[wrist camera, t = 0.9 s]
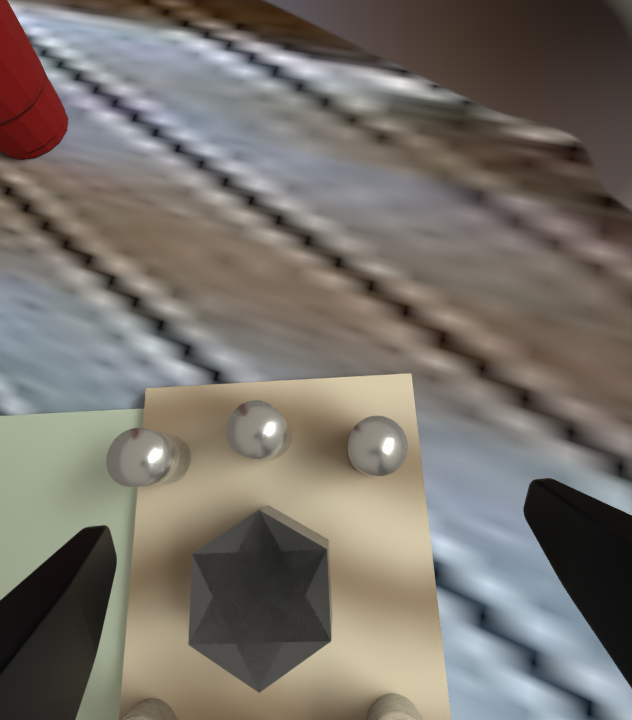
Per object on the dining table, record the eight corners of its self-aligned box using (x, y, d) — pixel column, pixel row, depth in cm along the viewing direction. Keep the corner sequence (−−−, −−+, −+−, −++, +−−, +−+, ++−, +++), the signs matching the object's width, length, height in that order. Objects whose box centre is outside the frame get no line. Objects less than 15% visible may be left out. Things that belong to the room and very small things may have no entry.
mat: (121, 796, 18) (116, 802, 18) (-81, 797, 18) (-90, 804, 18) (151, 409, 23) (147, 408, 23) (-8, 417, 23) (-14, 416, 23)
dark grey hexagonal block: (334, 662, 18) (333, 691, 16) (206, 665, 18) (186, 694, 16) (326, 502, 20) (325, 507, 17) (211, 507, 20) (193, 512, 18)
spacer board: (457, 822, 17) (465, 848, 16) (123, 823, 18) (108, 848, 17) (407, 378, 23) (411, 373, 21) (155, 392, 23) (145, 388, 22)
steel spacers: (430, 795, 16) (454, 878, 13) (116, 797, 17) (61, 877, 14) (392, 405, 21) (402, 392, 18) (147, 417, 22) (111, 407, 18)
